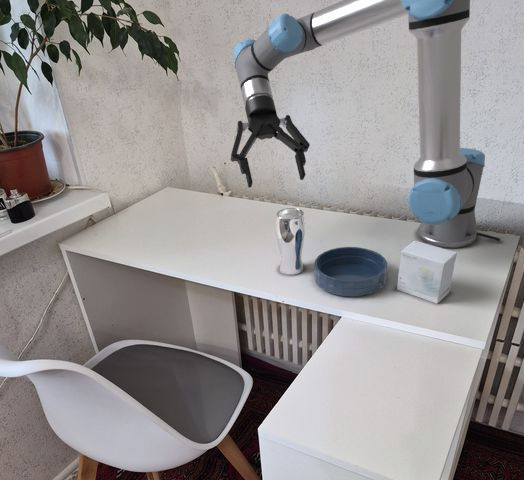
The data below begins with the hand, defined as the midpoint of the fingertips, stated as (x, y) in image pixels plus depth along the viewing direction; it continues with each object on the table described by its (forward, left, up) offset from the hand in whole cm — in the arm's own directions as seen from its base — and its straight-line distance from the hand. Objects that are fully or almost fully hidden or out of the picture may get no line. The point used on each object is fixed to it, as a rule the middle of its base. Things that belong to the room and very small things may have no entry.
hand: (277, 181), depth 127 cm
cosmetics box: (-37, +18, -19) cm, 45 cm away
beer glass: (-5, +10, -19) cm, 22 cm away
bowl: (-20, +14, -19) cm, 31 cm away
